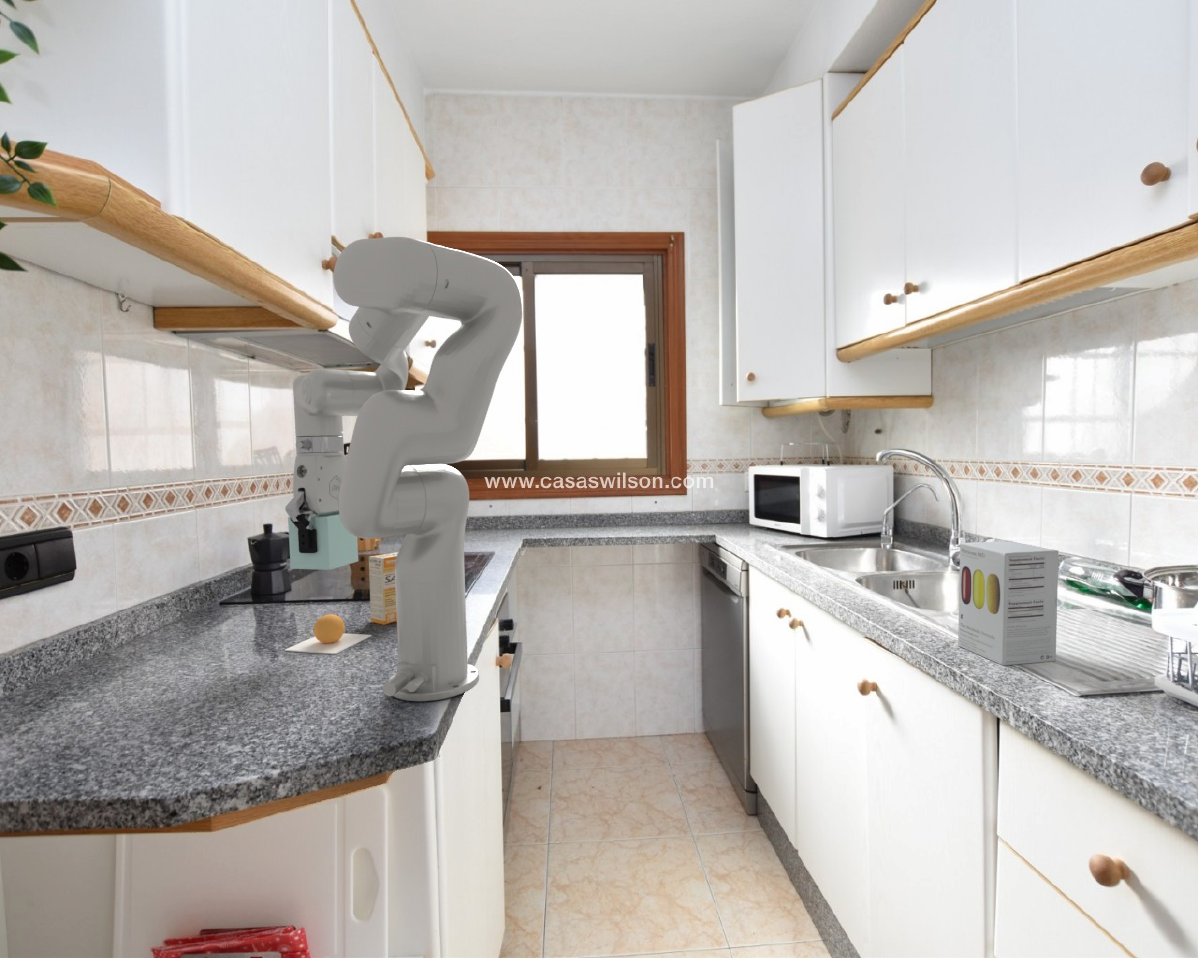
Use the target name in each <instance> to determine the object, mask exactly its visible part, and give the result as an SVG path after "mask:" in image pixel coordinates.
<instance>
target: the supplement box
mask: <svg viewBox="0 0 1198 958" xmlns="http://www.w3.org/2000/svg"><path fill="white" fill-rule="evenodd" d="M398 552H399V551H397V552H390V553H384V554H378V555H377V554H376V555H370V556H368V571H369V572H368V573H369V598H370V599H369V602H370V604H369V606H370V621H371V622H372V623H376V624H380V625H383V626H385V625H388V624H393V623H395V622H396V623H397V613H396V590H395V562H396V557H397V554H398Z"/></svg>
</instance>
